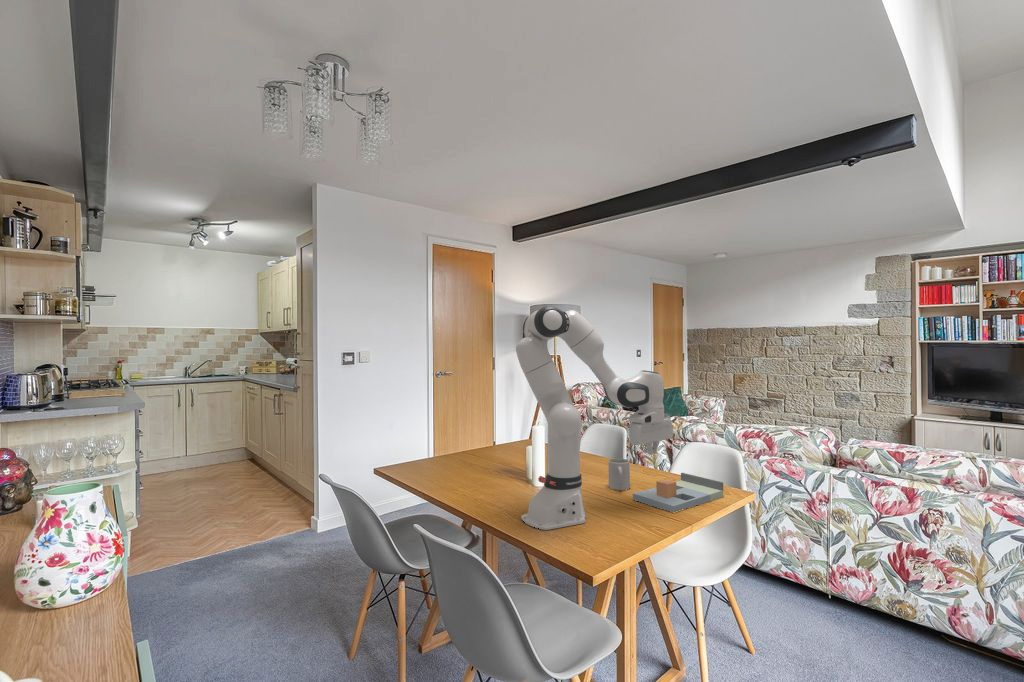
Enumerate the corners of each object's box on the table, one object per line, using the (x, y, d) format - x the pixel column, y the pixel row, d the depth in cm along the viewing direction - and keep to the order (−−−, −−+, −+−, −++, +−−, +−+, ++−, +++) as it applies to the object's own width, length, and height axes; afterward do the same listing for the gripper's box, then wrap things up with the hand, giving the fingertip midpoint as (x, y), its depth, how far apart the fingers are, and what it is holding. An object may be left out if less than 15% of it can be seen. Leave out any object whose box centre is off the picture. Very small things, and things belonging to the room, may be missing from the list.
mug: (607, 484, 200) (607, 458, 200) (628, 484, 199) (628, 458, 199) (610, 493, 188) (609, 465, 188) (632, 493, 187) (631, 465, 187)
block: (667, 498, 173) (667, 484, 173) (656, 494, 177) (656, 481, 177) (676, 495, 176) (676, 482, 176) (665, 492, 180) (664, 479, 180)
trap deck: (673, 513, 164) (673, 497, 164) (632, 500, 179) (632, 485, 179) (723, 496, 181) (723, 482, 181) (682, 486, 196) (682, 472, 196)
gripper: (662, 412, 181) (663, 448, 181) (625, 417, 169) (626, 456, 169) (676, 413, 176) (677, 451, 176) (639, 419, 164) (640, 459, 164)
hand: (652, 454), depth 172 cm, fingers closed
